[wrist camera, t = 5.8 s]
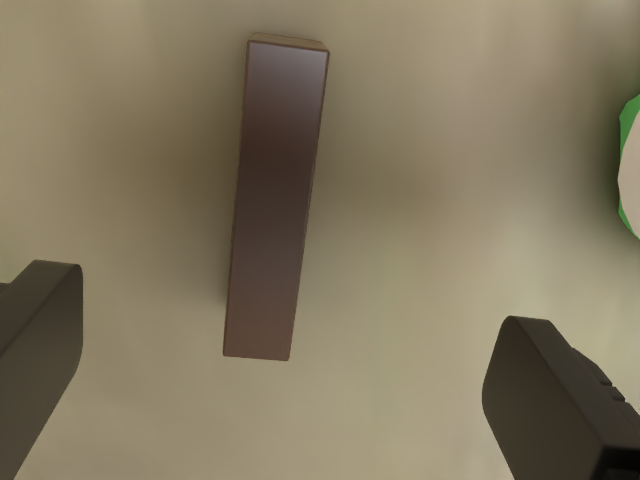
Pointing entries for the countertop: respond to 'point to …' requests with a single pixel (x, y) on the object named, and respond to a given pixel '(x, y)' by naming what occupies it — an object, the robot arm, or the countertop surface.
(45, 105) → the countertop surface
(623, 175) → the cup
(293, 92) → the stick
